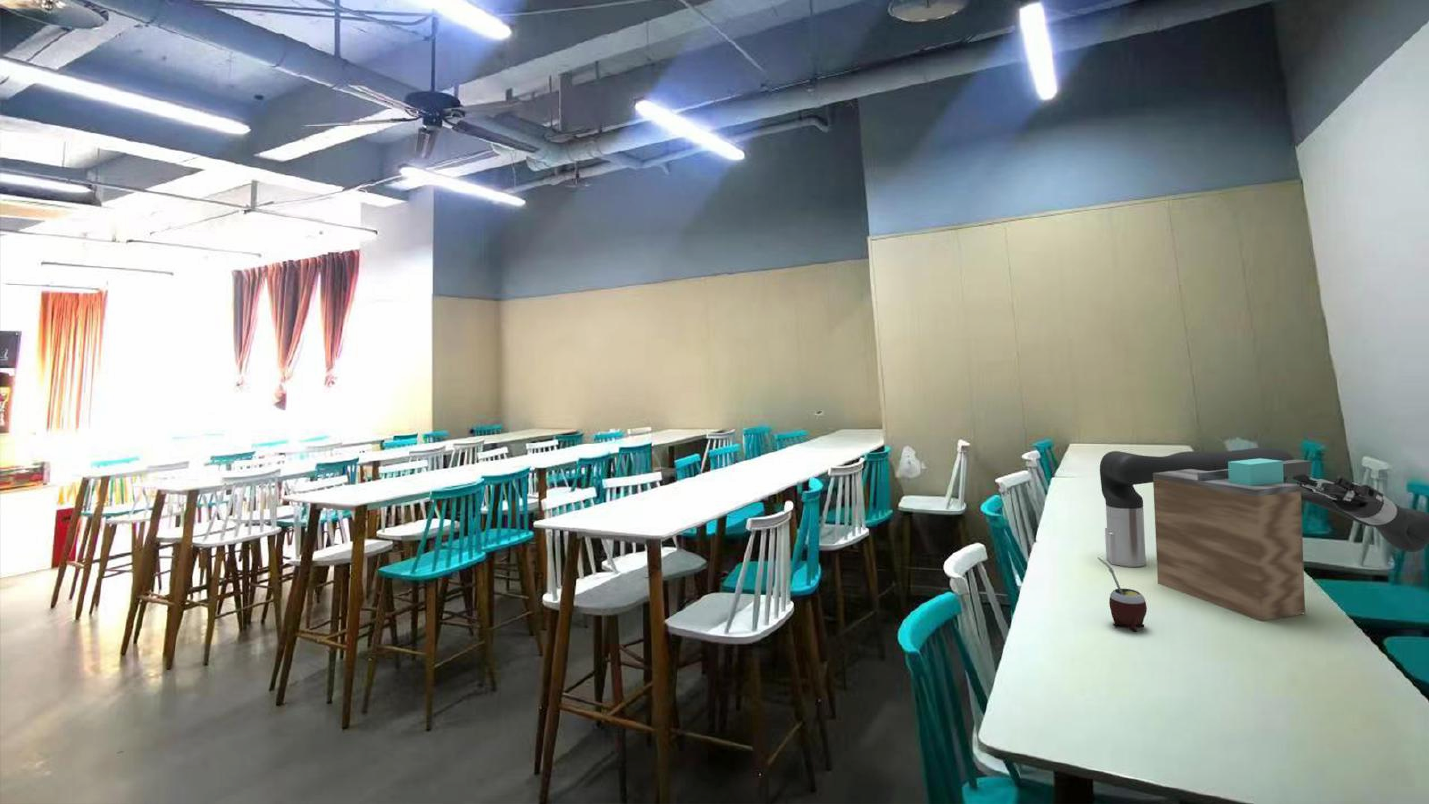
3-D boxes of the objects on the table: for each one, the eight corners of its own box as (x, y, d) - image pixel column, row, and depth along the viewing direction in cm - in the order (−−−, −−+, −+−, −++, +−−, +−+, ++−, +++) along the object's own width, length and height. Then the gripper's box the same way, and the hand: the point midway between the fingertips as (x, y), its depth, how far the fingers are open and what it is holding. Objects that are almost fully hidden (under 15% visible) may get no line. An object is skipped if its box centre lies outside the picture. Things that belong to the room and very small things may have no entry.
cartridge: (1291, 475, 143) (1291, 455, 143) (1315, 478, 138) (1315, 457, 138) (1228, 482, 141) (1228, 461, 140) (1250, 485, 136) (1250, 464, 135)
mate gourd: (1154, 633, 131) (1151, 567, 130) (1114, 632, 132) (1111, 567, 132) (1136, 619, 138) (1134, 556, 138) (1099, 619, 140) (1096, 557, 139)
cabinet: (1198, 577, 160) (1193, 461, 159) (1307, 613, 135) (1302, 475, 133) (1157, 583, 158) (1152, 465, 157) (1260, 621, 133) (1255, 481, 132)
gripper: (1335, 485, 151) (1288, 459, 148) (1408, 495, 137) (1358, 467, 134) (1324, 512, 150) (1277, 486, 148) (1396, 525, 136) (1345, 497, 134)
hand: (1315, 477), depth 141 cm, fingers open, 8 cm apart
